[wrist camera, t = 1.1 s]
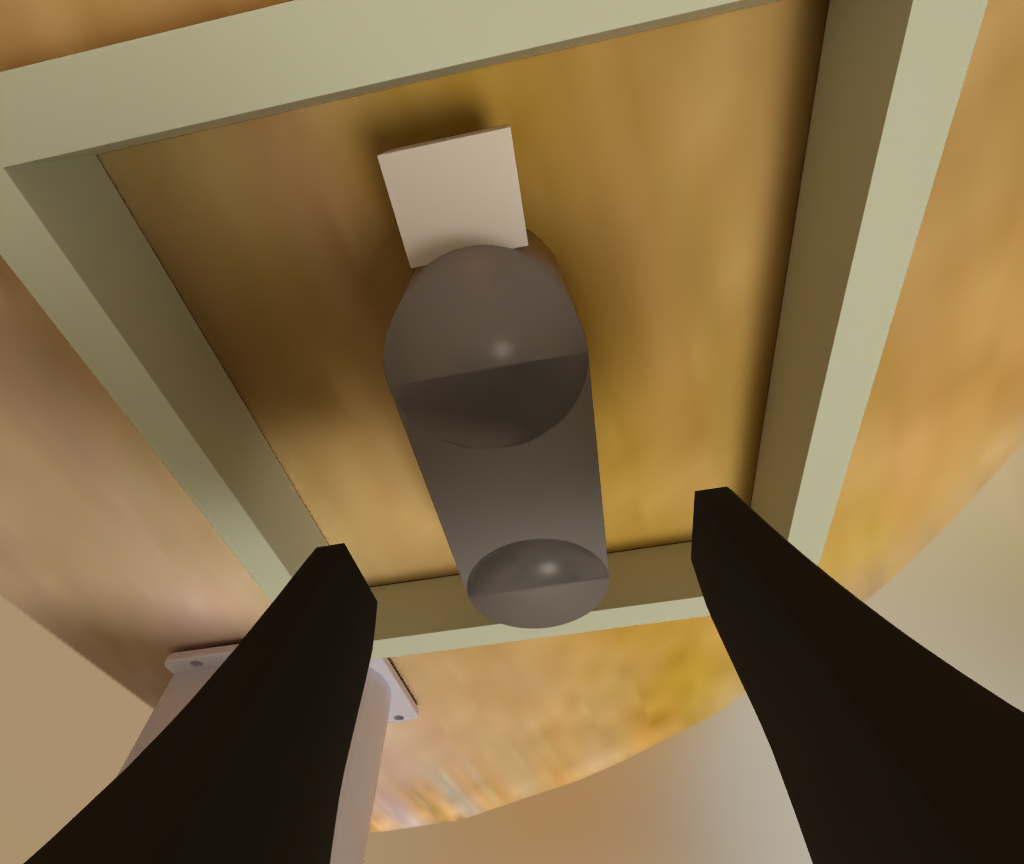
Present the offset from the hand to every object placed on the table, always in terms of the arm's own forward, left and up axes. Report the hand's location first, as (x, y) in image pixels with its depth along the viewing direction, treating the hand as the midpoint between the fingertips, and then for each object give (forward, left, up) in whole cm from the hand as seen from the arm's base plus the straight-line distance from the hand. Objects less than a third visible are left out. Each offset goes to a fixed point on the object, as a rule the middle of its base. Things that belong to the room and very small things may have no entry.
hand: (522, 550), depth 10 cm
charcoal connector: (0, 0, -6) cm, 6 cm away
